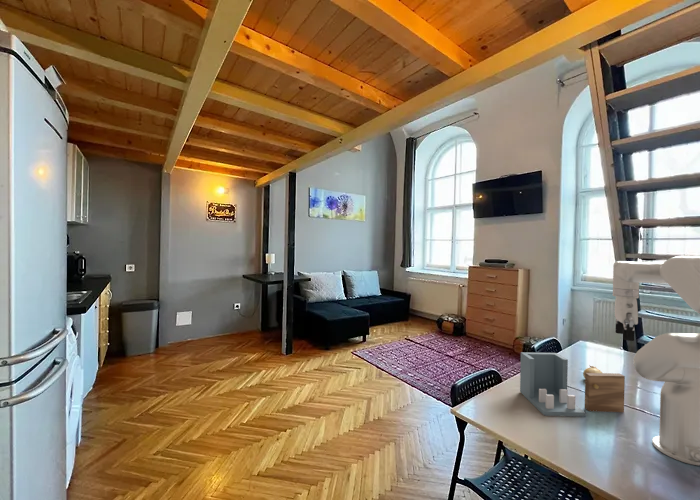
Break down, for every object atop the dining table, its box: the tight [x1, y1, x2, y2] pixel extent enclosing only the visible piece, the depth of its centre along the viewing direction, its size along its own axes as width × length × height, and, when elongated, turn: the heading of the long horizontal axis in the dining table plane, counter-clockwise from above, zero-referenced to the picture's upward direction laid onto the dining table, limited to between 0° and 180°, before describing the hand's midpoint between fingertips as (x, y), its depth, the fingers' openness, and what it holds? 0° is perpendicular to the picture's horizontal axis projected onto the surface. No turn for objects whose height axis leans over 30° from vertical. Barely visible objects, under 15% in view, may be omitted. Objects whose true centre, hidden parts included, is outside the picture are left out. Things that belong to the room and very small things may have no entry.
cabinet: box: [519, 351, 586, 417], centre depth 125 cm, size 18×15×18 cm
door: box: [584, 372, 626, 413], centre depth 120 cm, size 3×13×14 cm, turn 87°
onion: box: [582, 364, 603, 379], centre depth 145 cm, size 8×8×7 cm
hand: (624, 336), depth 121 cm, fingers open, 9 cm apart
